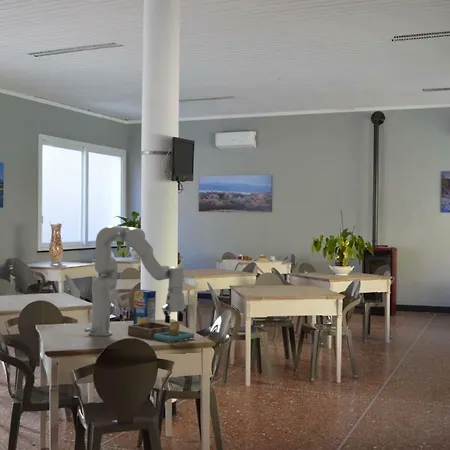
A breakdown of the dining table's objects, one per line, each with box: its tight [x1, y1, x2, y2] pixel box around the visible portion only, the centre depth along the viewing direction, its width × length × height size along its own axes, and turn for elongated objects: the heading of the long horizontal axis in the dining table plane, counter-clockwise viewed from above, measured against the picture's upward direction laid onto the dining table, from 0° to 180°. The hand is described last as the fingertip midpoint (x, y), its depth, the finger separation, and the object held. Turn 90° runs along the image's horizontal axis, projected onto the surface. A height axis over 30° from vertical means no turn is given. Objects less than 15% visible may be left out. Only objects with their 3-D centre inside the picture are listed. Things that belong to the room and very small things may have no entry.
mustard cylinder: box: [169, 320, 180, 337], centre depth 340 cm, size 5×5×8 cm
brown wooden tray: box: [127, 322, 170, 340], centre depth 351 cm, size 18×18×5 cm
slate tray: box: [153, 330, 195, 343], centre depth 340 cm, size 18×12×3 cm, turn 139°
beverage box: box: [132, 289, 157, 325], centre depth 373 cm, size 7×11×22 cm, turn 53°
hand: (173, 322), depth 340 cm, fingers open, 9 cm apart
